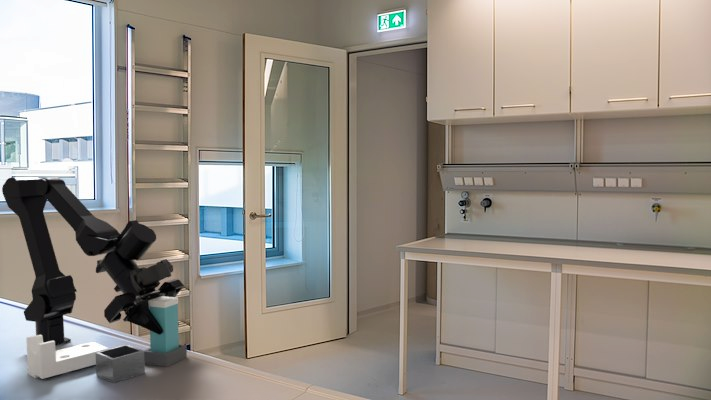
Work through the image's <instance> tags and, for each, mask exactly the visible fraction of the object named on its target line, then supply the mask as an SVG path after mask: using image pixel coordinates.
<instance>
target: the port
mask: <svg viewBox="0 0 711 400" xmlns="http://www.w3.org/2000/svg"><path fill="white" fill-rule="evenodd" d="M144 350H145V349H144ZM144 350H143V349H141V348H138V347H135V346H132V345H129V344H122V345H120V346H115V347H112V348H109V349H107V350H104V351H100V352H96V364H95V373H96V375H95V376H97V377H99V378H102V379H104V380H106V381H107V382H110V383H112V384H114V383H118V382H121V381H125V380H127V379H130V378H135V377H136V376H139V375H143V374H145V373H146V369H145V368H146V363H145V362H144Z"/></svg>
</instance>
